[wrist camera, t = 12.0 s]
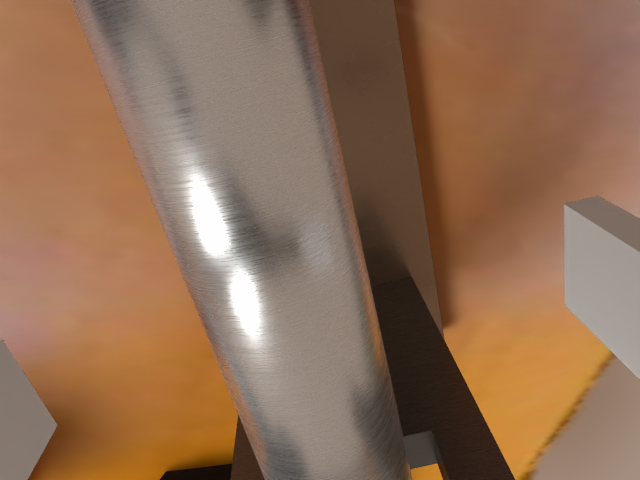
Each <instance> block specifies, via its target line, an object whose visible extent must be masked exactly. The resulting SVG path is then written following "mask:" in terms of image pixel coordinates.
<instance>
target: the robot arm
mask: <svg viewBox="0 0 640 480" xmlns="http://www.w3.org/2000/svg"><path fill="white" fill-rule="evenodd" d="M564 268H565V306H566V307H567V308H568V309H569V310H570V311H571V312H572V313H573V314H574V315H575V316H576V317H577V318H578V319H579V320H580V321H581V322H582V323H583V324H584V325H585V326H586V327H587V328H588V329H589V330H590V331H591V332H592V333H593V334H594V335H595V336H596V337H597V338H598V339H599V340H600V341H601V342H602V343H603V344H604V345H605V346H606V347H607V348H608V349H609V350H610V351H611V352H612V353H613V354H615V355H616V356H617V357H618V358H619V359H620V360H621V361H622V362H623V363H624V364H625V365H626V366H627V367H628V368H629V369H630V370H631V371H632V372H633V373H634V374H635V375H636V376H637V377H638V378H639V379H640V218H638V217H636V216H634V215H632V214H630V213H629V212H627V211H625V210H623V209H621V208H619V207H618V206H616V205H614V204H612V203H610V202H608V201H606V200H605V199H603V198H601V197H599V196H595V197H590V198H586V199H582V200H578V201H574V202H570V203H566V204H564ZM57 426H58V425H57V424H56V422H55V421H54V419H53V417H52V416H51V414H50V413H49V411H48V410H47V408H46V407H45V405H44V403H43V402H42V400H41V399H40V397H39V396H38V394H37V393H36V391H35V389H34V388H33V386H32V385H31V383H30V382H29V380H28V379H27V377H26V375H25V374H24V372H23V371H22V369H21V368H20V366H19V364H18V363H17V361H16V360H15V358H14V357H13V355H12V354H11V352H10V350H9V349H8V347H7V346H6V344H5V343H4V341H3V340H1V341H0V480H28V478H29V476H30V475H31V473H32V471H33V469H34V467H35V466H36V464H37V462H38V460H39V458H40V456H41V455H42V453H43V451H44V449H45V447H46V446H47V444H48V442H49V440H50V438H51V437H52V435H53V433H54V431H55V429H56V427H57Z"/></svg>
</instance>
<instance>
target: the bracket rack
mask: <svg viewBox="0 0 640 480" xmlns="http://www.w3.org/2000/svg"><path fill="white" fill-rule="evenodd" d="M309 2H310V7H311V12H312V16H313V21H314V26H315V30H316V35H317V39H318V44H319V49H320V53H321V58H322V63H323V67H324V72H325V76H326V81H327V86H328V90H329V95H330V100H331V104H332V109H333V114H334V118H335V123H336V127H337V132H338V137H339V141H340V146H341V151H342V155H343V160H344V164H345V169H346V174H347V178H348V183H349V188H350V192H351V197H352V201H353V206H354V211H355V215H356V220H357V225H358V229H359V234H360V239H361V243H362V248H363V252H364V257H365V262H366V266H367V271H368V276H369V280H370V285H371V289H372V294H373V299H374V303H375V308H376V313H377V317H378V322H379V327H380V331H381V336H382V340H383V345H384V350H385V354H386V359H387V364H388V368H389V373H390V377H391V382H392V387H393V391H394V396H395V401H396V405H397V410H398V414H399V419H400V424H401V428H402V433H403V438H404V442H405V447H406V452H407V456H408V461H409V465H410V469H413V468H418V467H422V466H427V465H431V464H436V463H438V466H439V469H440V472H441V475H442V478H443V480H515V478H514V476H513V474H512V472H511V471H510V469H509V467H508V465H507V463H506V461H505V459H504V457H503V455H502V453H501V451H500V449H499V447H498V445H497V443H496V441H495V439H494V437H493V435H492V433H491V431H490V429H489V427H488V425H487V423H486V421H485V419H484V417H483V415H482V413H481V412H480V410H479V408H478V406H477V404H476V402H475V400H474V398H473V396H472V394H471V392H470V390H469V388H468V386H467V384H466V382H465V380H464V378H463V376H462V374H461V372H460V370H459V368H458V366H457V364H456V362H455V360H454V358H453V356H452V354H451V352H450V351H449V349H448V347H447V345H446V343H445V341H444V334H443V328H442V321H441V314H440V307H439V301H438V294H437V287H436V280H435V274H434V267H433V260H432V254H431V247H430V240H429V233H428V227H427V220H426V213H425V206H424V200H423V193H422V186H421V179H420V173H419V166H418V159H417V153H416V146H415V139H414V132H413V126H412V119H411V112H410V105H409V99H408V92H407V85H406V79H405V72H404V65H403V58H402V52H401V45H400V38H399V31H398V25H397V18H396V11H395V5H394V0H309ZM230 480H265V479H264V476H263V474H262V471H261V469H260V466H259V464H258V461H257V459H256V456H255V454H254V452H253V449H252V447H251V444H250V442H249V439H248V437H247V434H246V432H245V429H244V427H243V424H242V422H241V419H240V417H239V414H238V421H237V430H236V438H235V446H234V454H233V463H232V471H231V479H230Z"/></svg>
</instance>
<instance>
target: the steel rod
mask: <svg viewBox="0 0 640 480" xmlns="http://www.w3.org/2000/svg"><path fill="white" fill-rule="evenodd" d="M71 2H72V5H73V7H74V10H75V12H76V15H77V17H78V20H79V22H80V25H81V27H82V30H83V32H84V34H85V37H86V39H87V42H88V44H89V47H90V49H91V52H92V54H93V57H94V59H95V62H96V64H97V67H98V69H99V71H100V74H101V76H102V79H103V81H104V84H105V86H106V89H107V91H108V94H109V96H110V99H111V101H112V104H113V106H114V108H115V111H116V113H117V116H118V118H119V121H120V123H121V126H122V128H123V131H124V133H125V136H126V138H127V141H128V143H129V146H130V148H131V150H132V153H133V155H134V158H135V160H136V163H137V165H138V168H139V170H140V173H141V175H142V178H143V180H144V183H145V185H146V187H147V190H148V192H149V195H150V197H151V200H152V202H153V205H154V207H155V210H156V212H157V215H158V217H159V220H160V222H161V224H162V227H163V229H164V232H165V234H166V237H167V239H168V242H169V244H170V247H171V249H172V252H173V254H174V257H175V259H176V261H177V264H178V266H179V269H180V271H181V274H182V276H183V279H184V281H185V284H186V286H187V289H188V291H189V294H190V296H191V299H192V301H193V303H194V306H195V308H196V311H197V313H198V316H199V318H200V321H201V323H202V326H203V328H204V331H205V333H206V336H207V338H208V340H209V343H210V345H211V348H212V350H213V353H214V355H215V358H216V360H217V363H218V365H219V368H220V370H221V373H222V375H223V377H224V380H225V382H226V385H227V387H228V390H229V392H230V395H231V397H232V400H233V402H234V405H235V407H236V410H237V412H238V414H239V417H240V419H241V422H242V424H243V427H244V429H245V432H246V434H247V437H248V439H249V442H250V444H251V447H252V449H253V452H254V454H255V456H256V459H257V461H258V464H259V466H260V469H261V471H262V474H263V476H264V479H265V480H413V479H412V475H411V470H410V465H409V461H408V456H407V452H406V447H405V442H404V438H403V433H402V428H401V424H400V419H399V414H398V410H397V405H396V401H395V396H394V391H393V387H392V382H391V377H390V373H389V368H388V364H387V359H386V354H385V350H384V345H383V340H382V336H381V331H380V327H379V322H378V317H377V313H376V308H375V303H374V299H373V294H372V289H371V285H370V280H369V276H368V271H367V266H366V262H365V257H364V252H363V248H362V243H361V239H360V234H359V229H358V225H357V220H356V215H355V211H354V206H353V201H352V197H351V192H350V188H349V183H348V178H347V174H346V169H345V164H344V160H343V155H342V151H341V146H340V141H339V137H338V132H337V127H336V123H335V118H334V114H333V109H332V104H331V100H330V95H329V90H328V86H327V81H326V76H325V72H324V67H323V63H322V58H321V53H320V49H319V44H318V39H317V35H316V30H315V26H314V21H313V16H312V12H311V7H310V2H309V0H71Z"/></svg>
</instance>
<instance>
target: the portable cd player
mask: <svg viewBox="0 0 640 480" xmlns="http://www.w3.org/2000/svg"><path fill="white" fill-rule="evenodd" d="M231 471H232V464H228V465H220V466H211V467H203V468H195V469H186V470H178V471H169V472H165V474H164V475H163V476H162V477H161V479H160V480H230V479H231Z"/></svg>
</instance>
